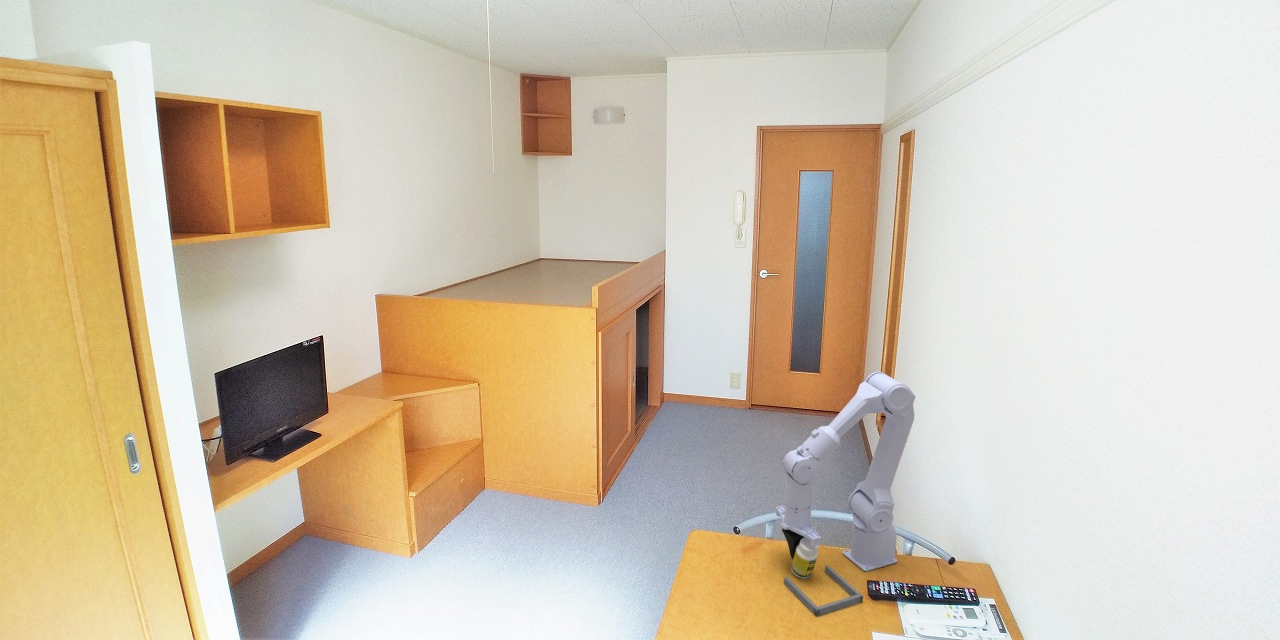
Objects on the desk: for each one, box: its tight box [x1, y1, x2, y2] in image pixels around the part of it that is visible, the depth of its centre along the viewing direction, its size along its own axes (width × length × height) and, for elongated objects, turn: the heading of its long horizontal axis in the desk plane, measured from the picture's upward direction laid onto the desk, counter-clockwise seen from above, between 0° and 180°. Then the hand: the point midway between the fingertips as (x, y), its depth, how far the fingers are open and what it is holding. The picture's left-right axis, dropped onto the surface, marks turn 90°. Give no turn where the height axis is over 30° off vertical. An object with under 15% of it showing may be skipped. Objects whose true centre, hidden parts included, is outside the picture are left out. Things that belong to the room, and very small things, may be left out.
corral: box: [783, 564, 864, 618], centre depth 135 cm, size 12×12×2 cm
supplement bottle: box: [790, 538, 819, 579], centre depth 140 cm, size 5×5×8 cm
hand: (795, 557), depth 144 cm, fingers closed
